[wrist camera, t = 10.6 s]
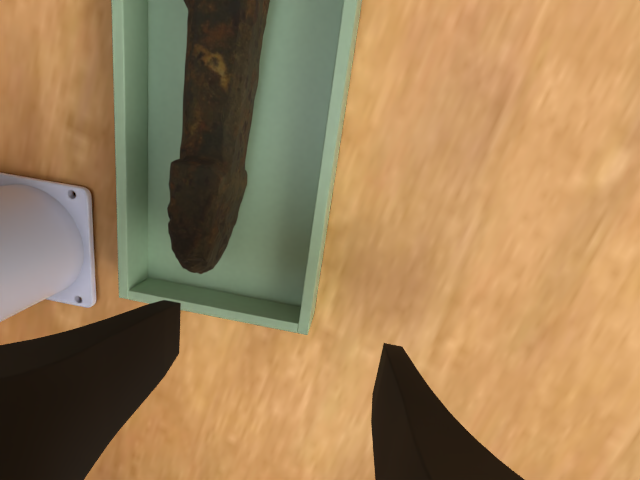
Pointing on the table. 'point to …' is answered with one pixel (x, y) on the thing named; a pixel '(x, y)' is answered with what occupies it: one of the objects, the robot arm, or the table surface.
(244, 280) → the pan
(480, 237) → the table surface
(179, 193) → the hand tool
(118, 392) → the robot arm
